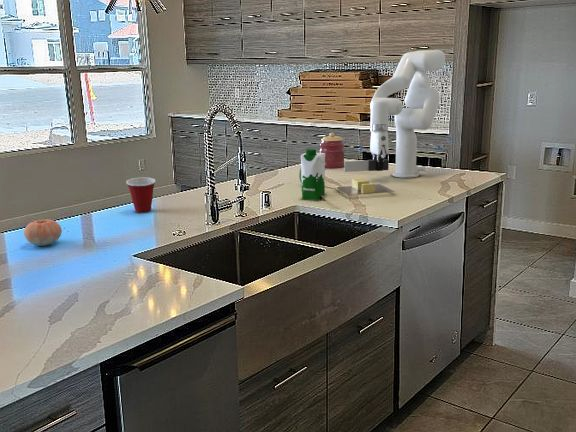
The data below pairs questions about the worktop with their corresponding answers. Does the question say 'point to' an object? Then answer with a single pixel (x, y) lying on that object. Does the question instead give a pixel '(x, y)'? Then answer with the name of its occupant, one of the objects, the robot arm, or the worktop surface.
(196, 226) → the worktop surface
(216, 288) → the worktop surface
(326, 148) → the kitchen canister
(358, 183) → the butter
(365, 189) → the butter slice
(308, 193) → the milk carton
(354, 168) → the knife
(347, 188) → the cutting board
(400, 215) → the worktop surface
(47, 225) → the pumpkin
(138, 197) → the plastic cup
